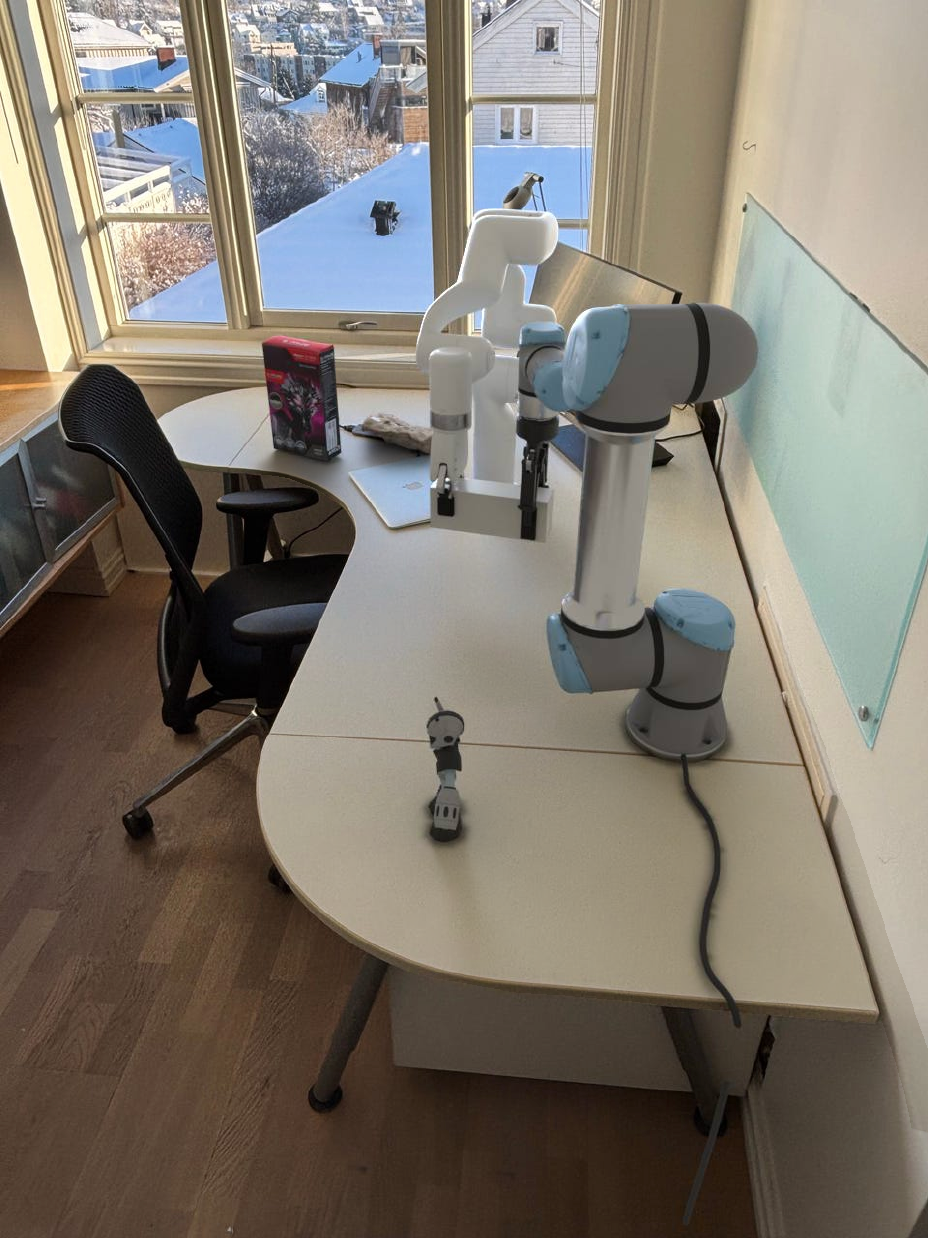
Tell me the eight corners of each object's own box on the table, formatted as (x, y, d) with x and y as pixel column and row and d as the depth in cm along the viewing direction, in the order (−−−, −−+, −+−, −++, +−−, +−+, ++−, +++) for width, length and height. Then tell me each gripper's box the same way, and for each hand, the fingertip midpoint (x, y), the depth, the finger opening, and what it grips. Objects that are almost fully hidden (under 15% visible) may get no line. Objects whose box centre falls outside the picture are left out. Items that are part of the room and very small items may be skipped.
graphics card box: (271, 449, 231) (258, 341, 215) (288, 440, 236) (276, 333, 220) (327, 463, 224) (318, 352, 209) (343, 453, 229) (336, 344, 214)
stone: (345, 437, 230) (349, 413, 227) (367, 428, 243) (371, 405, 241) (423, 461, 226) (429, 437, 224) (441, 451, 239) (446, 428, 237)
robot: (467, 874, 119) (468, 759, 108) (429, 876, 119) (427, 760, 108) (460, 769, 135) (460, 659, 124) (426, 770, 135) (424, 660, 124)
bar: (551, 528, 176) (554, 488, 172) (545, 543, 172) (548, 502, 167) (439, 513, 181) (439, 474, 176) (430, 527, 176) (430, 487, 172)
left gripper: (444, 399, 174) (444, 486, 184) (416, 433, 160) (418, 525, 170) (482, 403, 172) (481, 490, 182) (457, 438, 158) (457, 530, 169)
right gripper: (528, 393, 170) (522, 505, 183) (504, 431, 155) (500, 551, 168) (568, 397, 168) (560, 510, 181) (548, 436, 153) (541, 557, 166)
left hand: (450, 506), depth 176 cm, fingers closed on bar, 6 cm apart
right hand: (531, 530), depth 174 cm, fingers closed on bar, 6 cm apart
